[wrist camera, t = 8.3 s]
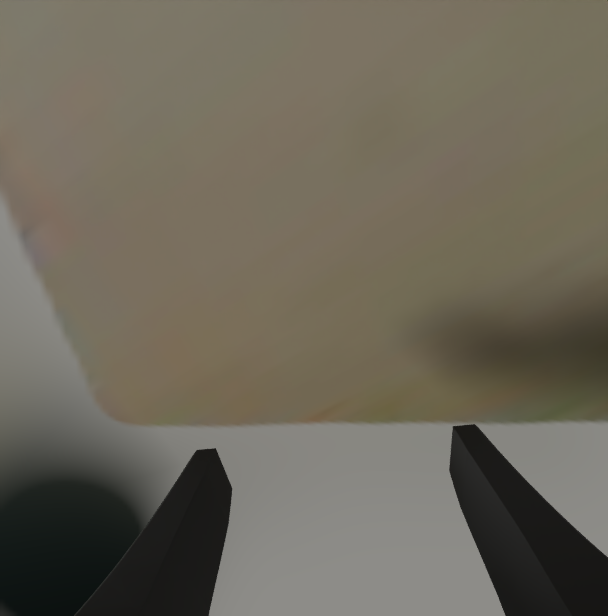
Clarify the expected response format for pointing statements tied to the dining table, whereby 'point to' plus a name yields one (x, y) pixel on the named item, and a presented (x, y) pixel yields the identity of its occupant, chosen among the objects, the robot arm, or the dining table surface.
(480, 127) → the dining table surface
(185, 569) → the robot arm
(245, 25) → the dining table surface
